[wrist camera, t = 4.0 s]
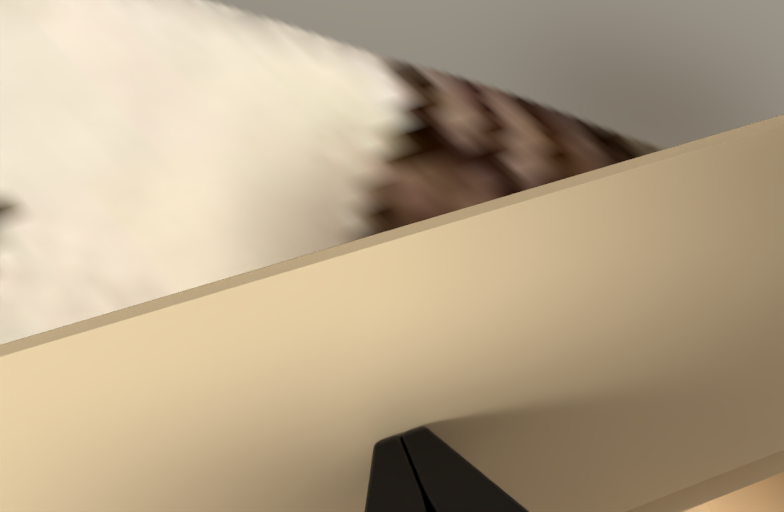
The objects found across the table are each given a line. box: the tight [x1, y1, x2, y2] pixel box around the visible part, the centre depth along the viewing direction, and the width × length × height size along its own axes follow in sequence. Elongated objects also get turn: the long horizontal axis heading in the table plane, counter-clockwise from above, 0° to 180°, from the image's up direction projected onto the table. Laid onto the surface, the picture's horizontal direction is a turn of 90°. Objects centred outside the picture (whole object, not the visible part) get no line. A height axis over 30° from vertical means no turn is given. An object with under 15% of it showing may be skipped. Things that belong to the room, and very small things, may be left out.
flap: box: [0, 114, 784, 512], centre depth 9 cm, size 1×16×7 cm
